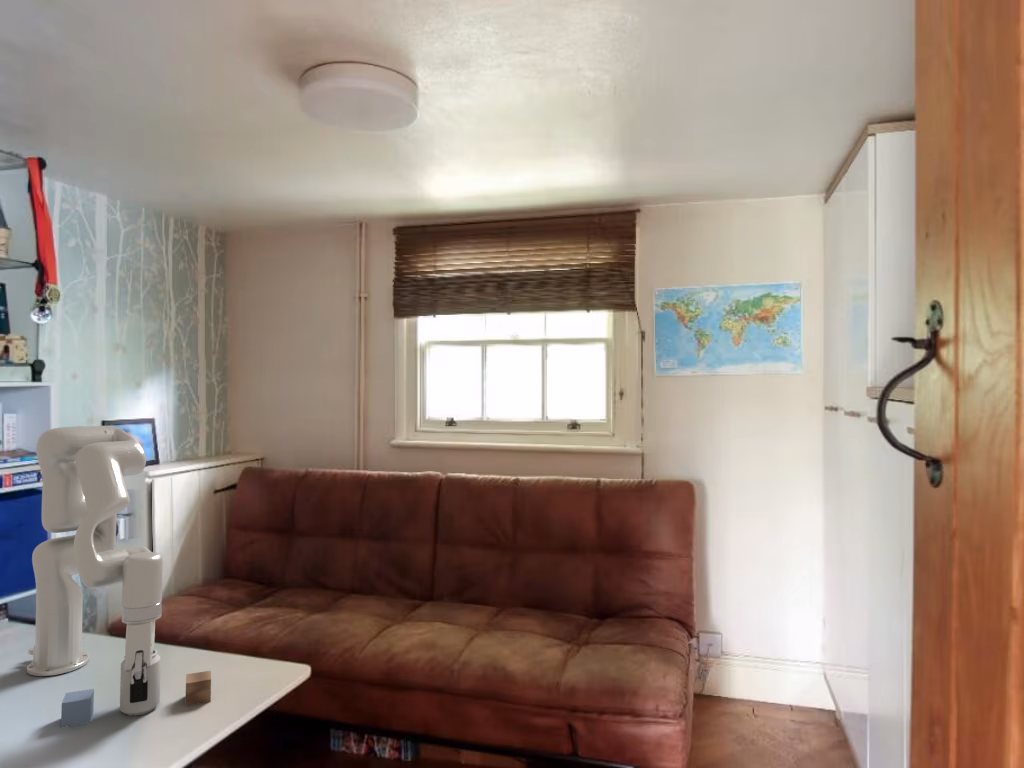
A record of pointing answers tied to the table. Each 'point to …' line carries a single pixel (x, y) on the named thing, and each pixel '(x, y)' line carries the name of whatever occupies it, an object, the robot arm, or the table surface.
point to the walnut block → (198, 688)
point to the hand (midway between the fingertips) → (140, 692)
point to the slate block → (77, 707)
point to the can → (153, 688)
